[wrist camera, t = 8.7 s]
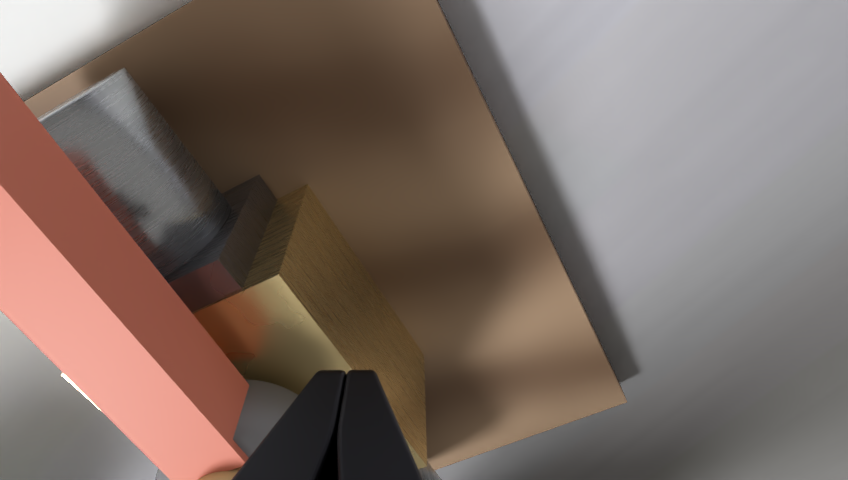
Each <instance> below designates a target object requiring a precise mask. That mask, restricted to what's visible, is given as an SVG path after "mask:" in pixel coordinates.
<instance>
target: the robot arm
mask: <svg viewBox="0 0 848 480" xmlns="http://www.w3.org/2000/svg"><path fill="white" fill-rule="evenodd" d="M232 480H423V479H422V476H421V474H420V472H419V469H418V467H417V465H416V463H415V460H414V458H413V456H412V453H411V451H410V449H409V447H408V444H407V442H406V440H405V437H404V435H403V433H402V430H401V428H400V426H399V424H398V421H397V419H396V417H395V414H394V412H393V410H392V407H391V405H390V403H389V401H388V398H387V396H386V394H385V391H384V389H383V387H382V385H381V382H380V380H379V378H378V375H377V373H376V372H375V371H374V370H350V371H348V373H347V374H346V372H345V371H343V370H320V371H318V372H316V373H315V375H314V376H313V377H312V378H311V380H310V381H309V382H308V383H307V385H306V386H305V387H304V389H303V390H302V391H301V392H300V394H299V395H298V396H297V397H296V399H295V400H294V401H293V402H292V404H291V405H290V406H289V408H288V409H287V410H286V411H285V413H284V414H283V415H282V416H281V418H280V419H279V420H278V421H277V423H276V424H275V425H274V427H273V428H272V429H271V430H270V432H269V433H268V434H267V435H266V437H265V438H264V439H263V440H262V442H261V443H260V444H259V446H258V447H257V448H256V449H255V451H254V452H253V453H252V454H251V456H250V457H249V458H248V459H247V461H246V462H245V463H244V464H243V466H242V467H241V468H240V470H239V471H238V472H237V473H236V475H235V476H234V477H233V478H232Z"/></svg>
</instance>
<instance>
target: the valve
mask: <svg viewBox="0 0 848 480" xmlns="http://www.w3.org/2000/svg"><path fill="white" fill-rule="evenodd" d="M37 119H38V120H39V122H40V123H41V124H42V125H43V127H44V128H45V129H46V130H47V132H48V133H49V134H50V135H51V137H52V138H53V139H54V140H55V142H56V143H57V144H58V145H59V147H60V148H61V149H62V151H63V152H64V153H65V154H66V156H67V157H68V158H69V159H70V161H71V162H72V163H73V164H74V166H75V167H76V168H77V169H78V171H79V172H80V173H81V174H82V176H83V177H84V178H85V179H86V181H87V182H88V183H89V184H90V186H91V187H92V188H93V189H94V191H95V192H96V193H97V194H98V196H99V197H100V198H101V199H102V201H103V202H104V203H105V204H106V206H107V207H108V208H109V210H110V211H111V212H112V213H113V215H114V216H115V217H116V218H117V220H118V221H119V222H120V223H121V225H122V226H123V227H124V228H125V230H126V231H127V232H128V233H129V235H130V236H131V237H132V238H133V240H134V241H135V242H136V243H137V245H138V246H139V247H140V248H141V250H142V251H143V252H144V253H145V255H146V256H147V257H148V258H149V260H150V261H151V262H152V263H153V265H154V266H155V267H156V268H157V270H158V271H159V272H160V274H161V275H162V276H163V277H164V279H165V280H166V281H167V282H168V284H169V285H170V286H171V287H172V289H173V290H174V291H175V292H176V294H177V295H178V296H179V297H180V299H181V300H182V301H183V302H184V304H185V305H186V306H187V307H188V309H189V310H190V311H191V312H192V314H193V315H194V316H195V317H196V319H197V320H198V321H199V322H200V324H201V325H202V326H203V327H204V329H205V330H206V331H207V332H208V334H209V335H210V336H211V338H212V339H213V340H214V341H215V343H216V344H217V345H218V346H219V348H220V349H221V350H222V351H223V353H224V354H225V355H226V356H227V358H228V359H229V360H230V361H231V363H232V364H233V365H234V366H235V368H236V369H237V370H238V371H239V373H240V374H241V375H242V376H243V378H244V379H245V380H258V381H264V382H269V383H273V384H276V385H279V386H282V387H284V388H286V389H289V390H290V391H292V392H294V393H296V394H298V395H299V394H300V392H301V391H302V390H303V389H304V387H305V386H306V385H307V383H308V382H309V381H310V380H311V378H312V377H313V376H314V375H315V373H316V372H318V371H320V370H343V371H345V372H346V374H347V373H348V371H350V370H374V371H375V372H376V373H377V375H378V378H379V380H380V382H381V385H382V387H383V389H384V391H385V394H386V396H387V398H388V401H389V403H390V405H391V407H392V410H393V412H394V414H395V417H396V419H397V421H398V424H399V426H400V428H401V430H402V433H403V435H404V437H405V440H406V442H407V444H408V447H409V449H410V451H411V453H412V456H413V458H414V460H415V463H416V465H417V467H418V469H419V472H420V474H421V476H422V479H423V480H441V478H440V477H439V476H438V474H437V473H436V472H435V470H434V469H433V468H432V467H431V465H430V464H429V463H428V461H427V444H426V408H425V372H424V354H423V353H422V351H421V350H420V348H419V347H418V345H417V344H416V343H415V341H414V340H413V338H412V337H411V335H410V334H409V332H408V331H407V329H406V328H405V326H404V325H403V323H402V322H401V320H400V319H399V318H398V316H397V315H396V313H395V312H394V310H393V309H392V307H391V306H390V304H389V303H388V301H387V300H386V298H385V297H384V296H383V294H382V293H381V291H380V290H379V288H378V287H377V285H376V284H375V282H374V281H373V279H372V278H371V276H370V275H369V273H368V272H367V271H366V269H365V268H364V266H363V265H362V263H361V262H360V260H359V259H358V257H357V256H356V254H355V253H354V251H353V250H352V248H351V247H350V246H349V244H348V243H347V241H346V240H345V238H344V237H343V235H342V234H341V232H340V231H339V229H338V228H337V226H336V225H335V224H334V222H333V221H332V219H331V218H330V216H329V215H328V213H327V212H326V210H325V209H324V207H323V206H322V204H321V203H320V201H319V200H318V199H317V197H316V196H315V194H314V193H313V191H312V190H311V188H310V187H309V185H308V184H307V185H305V186H303V187H300V188H298V189H296V190H294V191H292V192H290V193H288V194H286V195H284V196H282V197H280V198H278V199H277V198H276V197H275V196H274V194H273V193H272V192H271V190H270V189H269V187H268V186H267V185H266V183H265V182H264V180H263V179H262V178H261V176H260V175H257V176H255V177H253V178H251V179H249V180H247V181H245V182H243V183H241V184H239V185H237V186H235V187H233V188H231V189H229V190H228V191H226V192H224V193H222V194H221V192H220V191H219V190H218V188H217V187H216V186H215V184H214V183H213V182H212V181H211V179H210V178H209V177H208V175H207V174H206V173H205V171H204V170H203V169H202V168H201V166H200V165H199V164H198V162H197V161H196V160H195V158H194V157H193V156H192V155H191V153H190V152H189V151H188V149H187V148H186V147H185V145H184V144H183V143H182V142H181V140H180V139H179V138H178V136H177V135H176V134H175V132H174V131H173V130H172V129H171V127H170V126H169V125H168V123H167V122H166V121H165V119H164V118H163V117H162V116H161V114H160V113H159V112H158V110H157V109H156V108H155V106H154V105H153V104H152V103H151V101H150V100H149V99H148V97H147V96H146V95H145V93H144V92H143V91H142V90H141V88H140V87H139V86H138V84H137V83H136V82H135V80H134V79H133V78H132V77H131V75H130V74H129V73H128V71H127V70H126V69H125V68H122V69H120V70H118V71H116V72H114V73H112V74H110V75H109V76H107V77H105V78H103V79H102V80H100V81H98V82H96V83H95V84H93V85H91V86H89V87H88V88H86V89H84V90H83V91H81V92H79V93H78V94H76V95H74V96H73V97H71V98H69V99H68V100H66V101H64V102H63V103H61V104H60V105H58V106H56V107H55V108H53V109H51V110H50V111H48V112H47V113H45V114H43V115H42V116H40V117H39V118H37ZM61 376H63V377H64V378H65V379H66V380H67V381H68V382H69V383H70V384H71V385H73V386H74V387H75V388H76V389H77V390H78V391H79V392H80V393H82V394H83V395H84V396H85V397H86V398H87V399H88V400H89V401H90V402H92V401H91V400H90V399H89V398H88V397H87V396H86V395H85V394H84V393H83V392H82V391H81V390H80V389H79V388H78V387H77V386H76V385H75V384H74V383H73V382H72V381H71V380H70V379H69V378H68V377H67V376H66V375H65V374H64V373H63V372H62V374H61ZM92 403H93V402H92ZM93 404H94V403H93ZM94 405H95V404H94ZM95 406H96V405H95ZM96 407H97V406H96ZM97 408H98V407H97ZM98 409H99V408H98ZM99 410H100V409H99Z"/></svg>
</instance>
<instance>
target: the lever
mask: <svg viewBox="0 0 848 480" xmlns="http://www.w3.org/2000/svg"><path fill="white" fill-rule="evenodd" d="M0 310H1V311H2V312H3V313H4V314H5V315H6V316H7V317H8V318H9V319H10V320H11V321H12V322H13V323H14V324H15V325H16V326H17V327H18V328H19V329H20V330H21V331H22V332H23V333H24V334H25V335H26V336H27V337H28V338H29V339H30V340H31V341H32V342H33V343H34V344H35V345H36V346H37V347H38V348H39V349H40V350H41V351H42V352H43V353H44V354H45V355H46V356H47V357H48V358H49V359H50V360H51V361H52V362H53V363H54V364H55V365H56V366H57V367H58V368H59V369H60V370H61V371H62V372H63V373H64V374H65V375H66V376H67V377H68V378H69V379H70V380H71V381H72V382H73V383H74V384H75V385H76V386H77V387H78V388H79V389H80V390H81V391H82V392H83V393H84V394H85V395H86V396H87V397H88V398H89V399H90V400H91V401H92V402H93V403H94V404H95V405H96V406H97V407H98V408H99V409H100V410H101V411H102V412H103V413H104V414H105V415H106V416H107V417H108V418H109V419H110V420H111V421H112V422H113V423H114V424H115V425H116V426H117V427H118V428H119V429H120V430H121V431H122V432H123V433H124V434H125V435H126V436H127V437H128V438H129V439H130V440H131V441H132V442H133V443H134V444H135V445H136V446H137V447H138V448H139V449H140V450H141V451H142V452H143V453H144V454H145V455H146V456H147V457H148V458H149V459H150V460H151V461H152V462H153V463H154V464H155V465H156V466H157V467H158V468H159V469H158V472H157V474H156V480H232V478H233V477H234V476H235V475H236V473H237V472H238V471H239V470H240V468H241V467H242V466H243V464H244V463H245V462H246V461H247V459H248V458H249V457H250V456H251V454H252V453H253V452H254V451H255V449H256V448H257V447H258V446H259V444H260V443H261V442H262V440H263V439H264V438H265V437H266V435H267V434H268V433H269V432H270V430H271V429H272V428H273V427H274V425H275V424H276V423H277V421H278V420H279V419H280V418H281V416H282V415H283V414H284V413H285V411H286V410H287V409H288V408H289V406H290V405H291V404H292V402H293V401H294V400H295V399H296V397H297V396H298V394H296V393H294V392H292V391H290V390H289V389H286V388H284V387H282V386H279V385H276V384H273V383H269V382H264V381H258V380H245V379H244V378H243V376H242V375H241V374H240V373H239V371H238V370H237V369H236V368H235V366H234V365H233V364H232V363H231V361H230V360H229V359H228V358H227V356H226V355H225V354H224V353H223V351H222V350H221V349H220V348H219V346H218V345H217V344H216V343H215V341H214V340H213V339H212V338H211V336H210V335H209V334H208V332H207V331H206V330H205V329H204V327H203V326H202V325H201V324H200V322H199V321H198V320H197V319H196V317H195V316H194V315H193V314H192V312H191V311H190V310H189V309H188V307H187V306H186V305H185V304H184V302H183V301H182V300H181V299H180V297H179V296H178V295H177V294H176V292H175V291H174V290H173V289H172V287H171V286H170V285H169V284H168V282H167V281H166V280H165V279H164V277H163V276H162V275H161V274H160V272H159V271H158V270H157V268H156V267H155V266H154V265H153V263H152V262H151V261H150V260H149V258H148V257H147V256H146V255H145V253H144V252H143V251H142V250H141V248H140V247H139V246H138V245H137V243H136V242H135V241H134V240H133V238H132V237H131V236H130V235H129V233H128V232H127V231H126V230H125V228H124V227H123V226H122V225H121V223H120V222H119V221H118V220H117V218H116V217H115V216H114V215H113V213H112V212H111V211H110V210H109V208H108V207H107V206H106V204H105V203H104V202H103V201H102V199H101V198H100V197H99V196H98V194H97V193H96V192H95V191H94V189H93V188H92V187H91V186H90V184H89V183H88V182H87V181H86V179H85V178H84V177H83V176H82V174H81V173H80V172H79V171H78V169H77V168H76V167H75V166H74V164H73V163H72V162H71V161H70V159H69V158H68V157H67V156H66V154H65V153H64V152H63V151H62V149H61V148H60V147H59V145H58V144H57V143H56V142H55V140H54V139H53V138H52V137H51V135H50V134H49V133H48V132H47V130H46V129H45V128H44V127H43V125H42V124H41V123H40V122H39V120H38V119H37V118H36V117H35V115H34V114H33V113H32V112H31V110H30V109H29V108H28V107H27V105H26V104H25V103H24V102H23V100H22V99H21V98H20V97H19V95H18V94H17V93H16V92H15V90H14V89H13V88H12V87H11V85H10V84H9V83H8V81H7V80H6V79H5V78H4V76H3V75H2V74H1V73H0Z"/></svg>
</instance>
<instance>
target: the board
mask: <svg viewBox="0 0 848 480" xmlns="http://www.w3.org/2000/svg"><path fill="white" fill-rule="evenodd" d="M122 68H125V69H126V70H127V71H128V73H129V74H130V75H131V77H132V78H133V79H134V80H135V82H136V83H137V84H138V86H139V87H140V88H141V90H142V91H143V92H144V93H145V95H146V96H147V97H148V99H149V100H150V101H151V103H152V104H153V105H154V106H155V108H156V109H157V110H158V112H159V113H160V114H161V116H162V117H163V118H164V119H165V121H166V122H167V123H168V125H169V126H170V127H171V129H172V130H173V131H174V132H175V134H176V135H177V136H178V138H179V139H180V140H181V142H182V143H183V144H184V145H185V147H186V148H187V149H188V151H189V152H190V153H191V155H192V156H193V157H194V158H195V160H196V161H197V162H198V164H199V165H200V166H201V168H202V169H203V170H204V171H205V173H206V174H207V175H208V177H209V178H210V179H211V181H212V182H213V183H214V184H215V186H216V187H217V188H218V190H219V191H220V192H221V194H222V193H224V192H226V191H228V190H229V189H231V188H233V187H235V186H237V185H239V184H241V183H243V182H245V181H247V180H249V179H251V178H253V177H255V176H257V175H260V176H261V178H262V179H263V180H264V182H265V183H266V185H267V186H268V187H269V189H270V190H271V192H272V193H273V194H274V196H275V197H276V198H277V199H278V198H280V197H282V196H284V195H286V194H288V193H290V192H292V191H294V190H296V189H298V188H300V187H303V186H305V185H307V184H308V185H309V187H310V188H311V190H312V191H313V193H314V194H315V196H316V197H317V199H318V200H319V201H320V203H321V204H322V206H323V207H324V209H325V210H326V212H327V213H328V215H329V216H330V218H331V219H332V221H333V222H334V224H335V225H336V226H337V228H338V229H339V231H340V232H341V234H342V235H343V237H344V238H345V240H346V241H347V243H348V244H349V246H350V247H351V248H352V250H353V251H354V253H355V254H356V256H357V257H358V259H359V260H360V262H361V263H362V265H363V266H364V268H365V269H366V271H367V272H368V273H369V275H370V276H371V278H372V279H373V281H374V282H375V284H376V285H377V287H378V288H379V290H380V291H381V293H382V294H383V296H384V297H385V298H386V300H387V301H388V303H389V304H390V306H391V307H392V309H393V310H394V312H395V313H396V315H397V316H398V318H399V319H400V320H401V322H402V323H403V325H404V326H405V328H406V329H407V331H408V332H409V334H410V335H411V337H412V338H413V340H414V341H415V343H416V344H417V345H418V347H419V348H420V350H421V351H422V353H423V354H424V372H425V408H426V444H427V461H428V463H429V464H430V465H431V467H432V468H433V469H434V470H437V469H439V468H442V467H445V466H448V465H451V464H454V463H456V462H459V461H462V460H465V459H468V458H471V457H473V456H476V455H479V454H482V453H485V452H488V451H490V450H493V449H496V448H499V447H502V446H505V445H507V444H510V443H513V442H516V441H519V440H522V439H524V438H527V437H530V436H533V435H536V434H538V433H541V432H544V431H547V430H550V429H553V428H555V427H558V426H561V425H564V424H567V423H570V422H572V421H575V420H578V419H581V418H584V417H587V416H589V415H592V414H595V413H598V412H601V411H604V410H606V409H609V408H612V407H615V406H618V405H621V404H623V403H626V402H627V401H626V398H625V396H624V393H623V391H622V388H621V386H620V383H619V381H618V379H617V377H616V375H615V373H614V371H613V369H612V366H611V364H610V362H609V360H608V358H607V356H606V354H605V352H604V350H603V347H602V345H601V343H600V341H599V339H598V337H597V335H596V333H595V331H594V329H593V326H592V324H591V322H590V320H589V318H588V316H587V314H586V312H585V310H584V307H583V305H582V303H581V301H580V299H579V297H578V295H577V293H576V291H575V288H574V286H573V284H572V282H571V280H570V278H569V276H568V274H567V272H566V270H565V267H564V265H563V263H562V261H561V259H560V257H559V255H558V253H557V251H556V248H555V246H554V244H553V242H552V240H551V238H550V236H549V234H548V232H547V230H546V227H545V225H544V223H543V221H542V219H541V217H540V215H539V213H538V211H537V208H536V206H535V204H534V202H533V200H532V198H531V196H530V194H529V192H528V189H527V187H526V185H525V183H524V181H523V179H522V177H521V175H520V173H519V171H518V168H517V166H516V164H515V162H514V160H513V158H512V156H511V154H510V152H509V149H508V147H507V145H506V143H505V141H504V139H503V137H502V135H501V133H500V131H499V128H498V126H497V124H496V122H495V120H494V118H493V116H492V114H491V112H490V109H489V107H488V105H487V103H486V101H485V99H484V97H483V95H482V93H481V91H480V88H479V86H478V84H477V82H476V80H475V78H474V76H473V74H472V72H471V69H470V67H469V65H468V63H467V61H466V59H465V57H464V55H463V53H462V50H461V48H460V46H459V44H458V42H457V40H456V38H455V36H454V34H453V32H452V29H451V27H450V25H449V23H448V21H447V19H446V17H445V15H444V13H443V10H442V8H441V6H440V4H439V2H438V0H192V1H191V2H189V3H187V4H186V5H184V6H182V7H181V8H179V9H177V10H176V11H174V12H172V13H171V14H169V15H167V16H166V17H164V18H162V19H161V20H159V21H157V22H156V23H154V24H152V25H151V26H149V27H147V28H146V29H144V30H142V31H141V32H139V33H137V34H136V35H134V36H132V37H131V38H129V39H127V40H126V41H124V42H122V43H121V44H119V45H117V46H116V47H114V48H112V49H111V50H109V51H107V52H106V53H104V54H102V55H101V56H99V57H97V58H96V59H94V60H92V61H91V62H89V63H87V64H86V65H84V66H82V67H81V68H79V69H77V70H76V71H74V72H72V73H71V74H69V75H67V76H66V77H64V78H62V79H61V80H59V81H57V82H56V83H54V84H52V85H51V86H49V87H47V88H46V89H44V90H42V91H41V92H39V93H37V94H36V95H34V96H32V97H31V98H29V99H27V100H26V101H24V103H25V104H26V105H27V107H28V108H29V109H30V110H31V112H32V113H33V114H34V115H35V117H36V118H39V117H40V116H42V115H43V114H45V113H47V112H48V111H50V110H51V109H53V108H55V107H56V106H58V105H60V104H61V103H63V102H64V101H66V100H68V99H69V98H71V97H73V96H74V95H76V94H78V93H79V92H81V91H83V90H84V89H86V88H88V87H89V86H91V85H93V84H95V83H96V82H98V81H100V80H102V79H103V78H105V77H107V76H109V75H110V74H112V73H114V72H116V71H118V70H120V69H122Z"/></svg>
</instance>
